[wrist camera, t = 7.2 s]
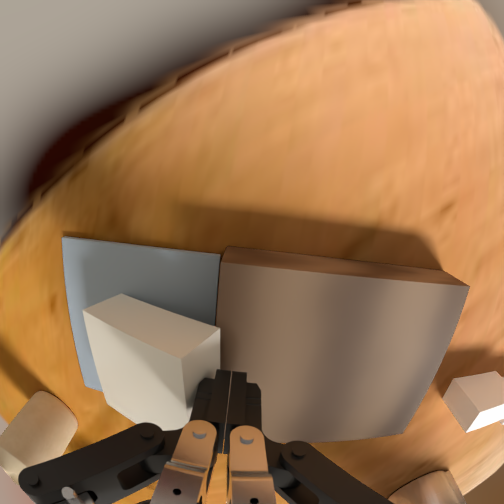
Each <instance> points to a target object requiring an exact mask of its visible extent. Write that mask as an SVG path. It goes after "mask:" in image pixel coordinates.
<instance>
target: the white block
mask: <svg viewBox="0 0 504 504" xmlns="http://www.w3.org/2000/svg"><path fill="white" fill-rule="evenodd" d="M83 316H84V321H85V325H86V330H87V335H88V339H89V343H90V347H91V351H92V355H93V359H94V363H95V366H96V370H97V373H98V377H99V380H100V383H101V386H102V390H103V393H104V396H105V399H106V402H107V404H109V405H110V406H111V407H113V408H114V409H115V410H117V411H118V412H120V413H121V414H123V415H124V416H126V417H127V418H128V419H130V420H132V421H133V422H135V423H136V424H139V423H143V422H149V423H154V424H156V425H158V426H159V427H160V428H161V429H162V430H163V431H167V430H177V429H180V428H182V427H184V426H185V425H186V424H187V423H188V422H189V420H190V416H191V412H192V408H193V404H194V400H195V396H196V392H197V389H198V385H199V383H200V382H201V381H202V380H203V379H204V378H212V379H215V375H216V370H217V369H220V328H218V327H215V326H212V325H209V324H206V323H202V322H199V321H196V320H193V319H190V318H187V317H184V316H181V315H179V314H176V313H173V312H170V311H167V310H164V309H162V308H159V307H156V306H153V305H151V304H148V303H145V302H143V301H140V300H137V299H135V298H132V297H129V296H127V295H124V294H122V293H121V294H119V295H116V296H114V297H112V298H109V299H107V300H104V301H102V302H100V303H97V304H95V305H93V306H90V307H88V308H86V309H83Z"/></svg>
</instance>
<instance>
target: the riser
mask: <svg viewBox="0 0 504 504" xmlns="http://www.w3.org/2000/svg"><path fill="white" fill-rule="evenodd" d="M469 288H470V286H468V285H467V284H465V283H463V282H462V281H460V280H458V279H457V278H455V277H453V276H452V275H450V274H448V273H447V272H445V271H442V270H434V269H425V268H417V267H408V266H399V265H391V264H382V263H373V262H365V261H356V260H347V259H339V258H330V257H321V256H312V255H303V254H294V253H286V252H277V251H268V250H259V249H250V248H241V247H232V246H227V247H226V250H225V252H224V255H223V258H222V260H221V266H220V278H219V290H218V303H217V317H216V327H218V328H220V369H221V370H229V371H231V379H232V371H238V372H247V382H248V383H257V385H258V386H259V388H260V389H261V409H262V431H263V433H264V435H265V436H266V437H267V438H268V439H270V440H272V441H274V442H277V443H288V442H290V441H297V440H298V441H304V442H306V443H316V442H336V441H349V440H360V439H369V438H377V437H384V436H390V435H396V434H402V433H403V432H404V430H405V429H406V427H407V425H408V424H409V422H410V421H411V419H412V417H413V416H414V414H415V412H416V410H417V409H418V407H419V405H420V403H421V402H422V400H423V398H424V396H425V394H426V392H427V391H428V389H429V387H430V385H431V383H432V381H433V379H434V377H435V375H436V373H437V371H438V369H439V366H440V364H441V362H442V360H443V358H444V355H445V353H446V351H447V348H448V346H449V344H450V341H451V339H452V336H453V334H454V331H455V329H456V326H457V323H458V321H459V318H460V315H461V312H462V309H463V307H464V304H465V300H466V297H467V294H468V291H469ZM231 379H230V387H231ZM229 396H230V389H229ZM228 404H229V398H228ZM227 413H228V407H227ZM226 421H227V416H226ZM225 431H226V424H225ZM224 439H225V432H224Z"/></svg>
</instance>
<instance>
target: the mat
mask: <svg viewBox="0 0 504 504" xmlns="http://www.w3.org/2000/svg"><path fill="white" fill-rule="evenodd" d="M62 251H63V265H64V276H65V285H66V293H67V301H68V308H69V314H70V320H71V326H72V331H73V337H74V341H75V346H76V351H77V355H78V360H79V364H80V368H81V372H82V376H83V379H84V383H85V386H86V387H89V388H92V389H95V390H99V391H102V392H103V390H102V386H101V383H100V380H99V377H98V373H97V370H96V366H95V363H94V359H93V355H92V351H91V347H90V343H89V339H88V335H87V330H86V325H85V321H84V316H83V309H86V308H88V307H90V306H93V305H95V304H97V303H100V302H102V301H104V300H107V299H109V298H112V297H114V296H116V295H119V294H121V293H122V294H124V295H127V296H129V297H132V298H135V299H137V300H140V301H143V302H145V303H148V304H151V305H153V306H156V307H159V308H162V309H164V310H167V311H170V312H173V313H176V314H179V315H181V316H184V317H187V318H190V319H193V320H196V321H199V322H202V323H206V324H209V325H212V326H215V321H216V307H217V294H218V281H219V268H220V257H221V254H214V253H205V252H196V251H187V250H178V249H170V248H161V247H152V246H144V245H135V244H127V243H118V242H110V241H101V240H93V239H85V238H76V237H68V236H64V237H62Z"/></svg>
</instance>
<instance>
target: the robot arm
mask: <svg viewBox="0 0 504 504" xmlns="http://www.w3.org/2000/svg"><path fill="white" fill-rule="evenodd" d="M230 379H231V371H229V370H221V369H217V370H216V375H215V379H212V378H204V379H203V380H202V381H201V382H200V383H199V385H198V389H197V392H196V396H195V400H194V404H193V408H192V412H191V416H190V420H189V422H188V423H187V424H186V425H185V426H184V427H182V428H180V429H177V430H167V431H163V430H162V429H161V428H160V427H159V426H158V425H156V424H154V423H149V422H143V423H139V424H137V425H135V426H132V427H130V428H128V429H126V430H124V431H122V432H119V433H117V434H115V435H113V436H110V437H108V438H106V439H103V440H101V441H99V442H96V443H94V444H91V445H89V446H86V447H84V448H81V449H79V450H76V451H73V452H71V453H68V454H65V455H63V456H60V457H57V458H54V459H51V460H48V461H45V462H42V463H39V464H36V465H33V466H30V467H27V468H24V469H23V470H22V471H21V472H20V474H19V476H18V482H19V485H20V487H21V488H22V490H23V491H24V492H25V493H26V494H27V495H28V496H29V497H30V499H31V500H32V501H33V502H34V503H35V504H112V503H114V502H116V501H118V500H120V499H122V498H124V497H127V496H129V495H130V494H132V493H134V492H136V491H138V490H140V489H142V488H144V487H146V486H148V485H149V484H151V483H153V482H155V481H157V480H158V479H159V481H158V483H157V486H156V489H155V491H154V494H153V496H152V499H151V500H146V501H142V502H139V503H137V504H206V501H207V496H208V492H209V488H210V483H211V479H212V475H213V471H214V467H215V463H216V460H217V453H221V454H222V449H223V441H224V432H225V442H224V452H223V454H228V456H227V466H226V497H227V500H226V504H276V498H275V491H276V492H277V493H278V494H279V495H280V496H281V497H282V498H284V499H285V500H286V501H287V502H288V503H289V504H466V502H465V500H464V498H463V496H462V494H461V492H460V490H459V488H458V486H457V484H456V482H455V480H454V478H453V476H452V474H451V472H450V470H449V471H446V472H444V471H436V472H432V473H429V474H427V475H424V476H422V477H420V478H418V479H416V480H414V481H412V482H410V483H408V484H407V485H405V486H403V487H402V488H400V489H399V490H397V491H396V492H395V493H393V494H392V495H391V496H390V497H389V498H388V499H386V498H384V497H383V496H381V495H380V494H378V493H376V492H375V491H373V490H372V489H370V488H369V487H367V486H366V485H364V484H363V483H361V482H360V481H358V480H357V479H356V478H354V477H353V476H351V475H350V474H348V473H347V472H346V471H344V470H343V469H341V468H340V467H339V466H337V465H336V464H335V463H333V462H332V461H331V460H329V459H328V458H327V457H325V456H324V455H323V454H321V453H320V452H319V451H318V450H316V449H315V448H314V447H312V446H311V445H310V444H308V443H306V442H304V441H298V440H297V441H290V442H288V443H286V444H285V445H284V444H281V443H277V442H274V441H272V440H270V439H268V438H267V437H266V436H265V435H264V433H263V431H262V409H261V389H260V388H259V386H258V385H257V383H248V382H247V372H238V371H232V379H231V387H230ZM229 389H230V396H229ZM228 398H229V404H228ZM227 407H228V413H227ZM226 416H227V421H226ZM225 424H226V431H225ZM274 490H275V491H274Z"/></svg>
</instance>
